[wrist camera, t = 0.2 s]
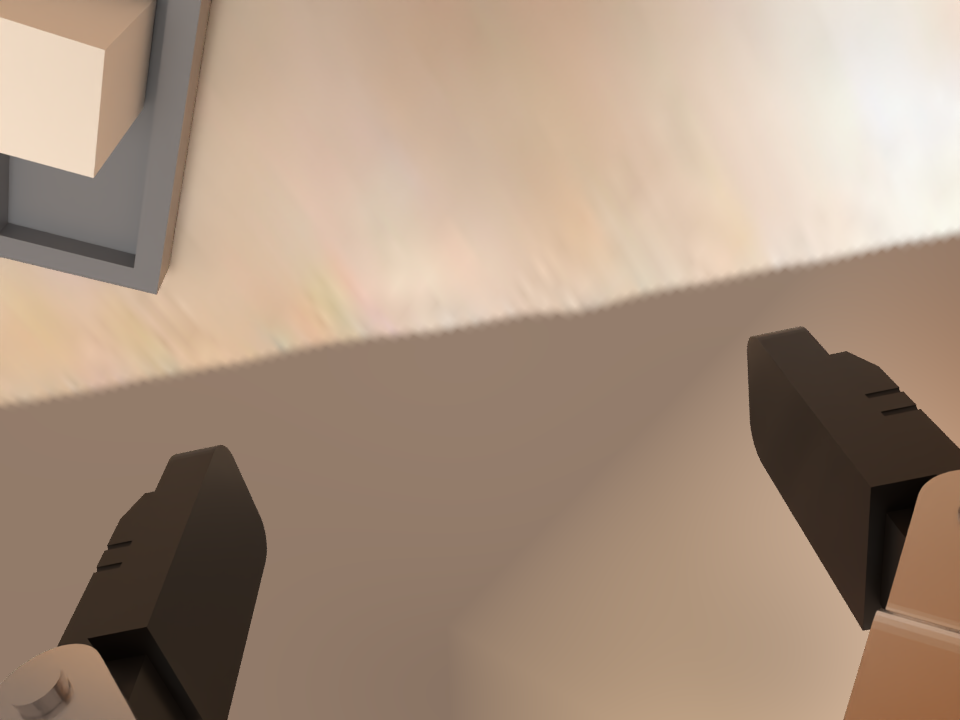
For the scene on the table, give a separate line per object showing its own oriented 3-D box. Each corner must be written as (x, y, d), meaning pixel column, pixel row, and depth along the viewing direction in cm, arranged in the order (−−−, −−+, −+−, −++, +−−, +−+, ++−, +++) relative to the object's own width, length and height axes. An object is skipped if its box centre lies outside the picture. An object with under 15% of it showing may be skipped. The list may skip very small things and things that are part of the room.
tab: (27, -47, 26) (-57, -1, 21) (156, -4, 27) (104, 50, 22) (24, 71, 28) (-53, 137, 23) (143, 107, 29) (93, 177, 24)
